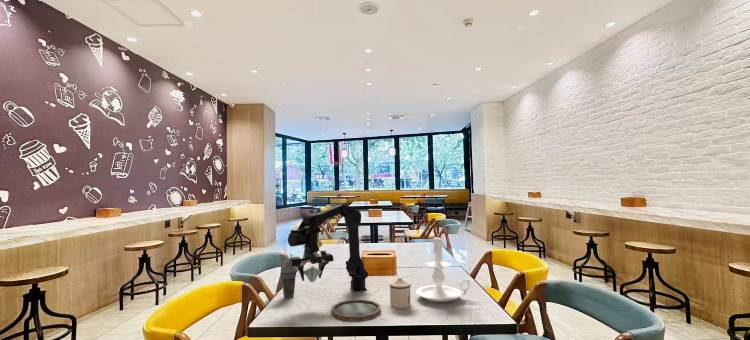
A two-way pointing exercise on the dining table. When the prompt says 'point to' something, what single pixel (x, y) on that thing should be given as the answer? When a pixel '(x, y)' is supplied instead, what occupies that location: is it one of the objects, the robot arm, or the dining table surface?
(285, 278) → the beverage cup
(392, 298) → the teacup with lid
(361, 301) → the round tray
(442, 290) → the candlestick
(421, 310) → the dining table surface
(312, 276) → the grey-green angular piece
